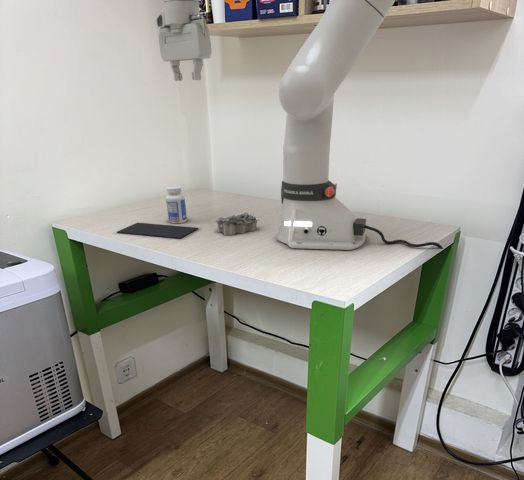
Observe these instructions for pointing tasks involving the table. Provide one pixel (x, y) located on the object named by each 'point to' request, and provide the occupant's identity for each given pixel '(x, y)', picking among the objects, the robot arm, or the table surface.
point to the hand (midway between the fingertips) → (187, 80)
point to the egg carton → (237, 224)
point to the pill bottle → (176, 205)
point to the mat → (158, 230)
